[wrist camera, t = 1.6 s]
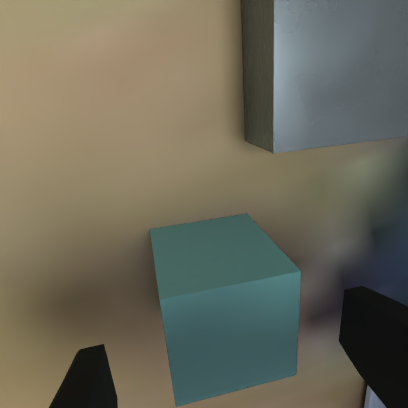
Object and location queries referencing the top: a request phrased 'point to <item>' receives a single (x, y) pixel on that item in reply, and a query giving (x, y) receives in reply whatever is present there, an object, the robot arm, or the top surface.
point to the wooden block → (225, 306)
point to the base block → (324, 72)
